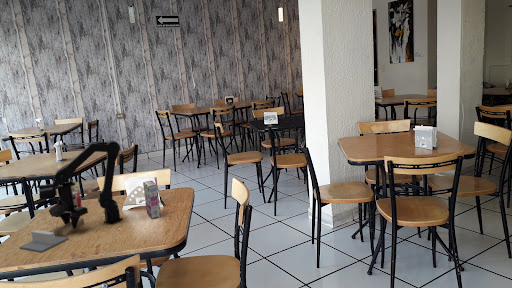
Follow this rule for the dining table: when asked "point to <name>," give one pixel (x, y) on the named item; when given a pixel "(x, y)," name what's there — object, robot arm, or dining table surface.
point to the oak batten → (69, 228)
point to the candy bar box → (152, 199)
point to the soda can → (77, 199)
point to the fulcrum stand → (43, 241)
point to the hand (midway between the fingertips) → (71, 228)
